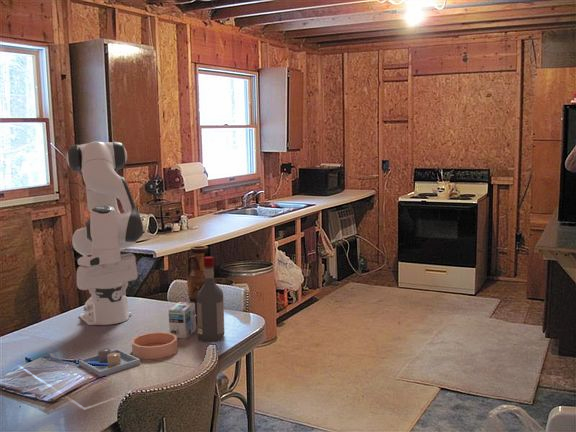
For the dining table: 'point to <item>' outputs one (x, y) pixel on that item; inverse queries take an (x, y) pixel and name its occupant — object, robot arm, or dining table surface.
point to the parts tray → (101, 371)
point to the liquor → (210, 307)
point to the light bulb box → (182, 319)
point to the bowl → (154, 345)
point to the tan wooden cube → (113, 359)
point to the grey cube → (103, 355)
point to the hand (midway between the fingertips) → (109, 298)
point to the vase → (196, 274)
